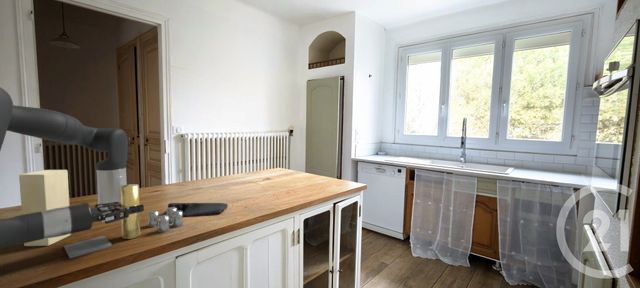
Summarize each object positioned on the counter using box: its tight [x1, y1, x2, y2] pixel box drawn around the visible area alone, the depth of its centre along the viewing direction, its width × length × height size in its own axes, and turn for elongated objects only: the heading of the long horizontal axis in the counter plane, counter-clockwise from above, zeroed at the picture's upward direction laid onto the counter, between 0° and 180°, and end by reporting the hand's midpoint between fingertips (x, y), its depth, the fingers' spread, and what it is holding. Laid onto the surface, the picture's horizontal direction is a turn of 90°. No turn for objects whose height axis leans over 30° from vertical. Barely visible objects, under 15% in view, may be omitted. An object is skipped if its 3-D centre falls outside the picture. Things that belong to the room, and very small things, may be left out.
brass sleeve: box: [120, 183, 141, 240], centre depth 82 cm, size 5×5×16 cm
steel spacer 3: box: [166, 207, 177, 225], centre depth 95 cm, size 3×3×5 cm
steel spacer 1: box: [147, 210, 160, 228], centre depth 92 cm, size 3×3×5 cm
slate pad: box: [63, 235, 113, 259], centre depth 76 cm, size 9×9×1 cm
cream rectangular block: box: [18, 169, 72, 247], centre depth 79 cm, size 8×7×21 cm
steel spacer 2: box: [157, 214, 170, 234], centre depth 87 cm, size 3×3×5 cm
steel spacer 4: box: [172, 210, 184, 228], centre depth 92 cm, size 3×3×5 cm
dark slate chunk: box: [167, 202, 229, 218], centre depth 108 cm, size 15×22×5 cm
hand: (140, 205), depth 84 cm, fingers closed on brass sleeve, 4 cm apart
